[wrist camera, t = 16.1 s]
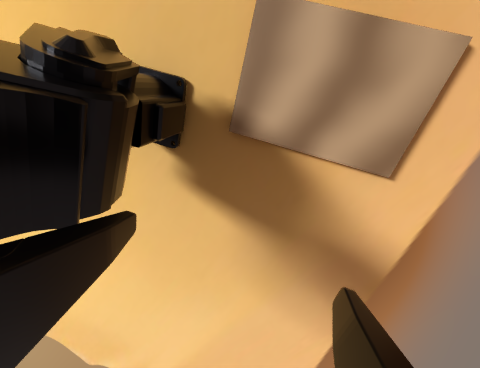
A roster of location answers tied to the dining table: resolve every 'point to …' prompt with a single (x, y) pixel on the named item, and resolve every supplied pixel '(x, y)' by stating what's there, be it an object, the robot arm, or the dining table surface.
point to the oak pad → (340, 82)
